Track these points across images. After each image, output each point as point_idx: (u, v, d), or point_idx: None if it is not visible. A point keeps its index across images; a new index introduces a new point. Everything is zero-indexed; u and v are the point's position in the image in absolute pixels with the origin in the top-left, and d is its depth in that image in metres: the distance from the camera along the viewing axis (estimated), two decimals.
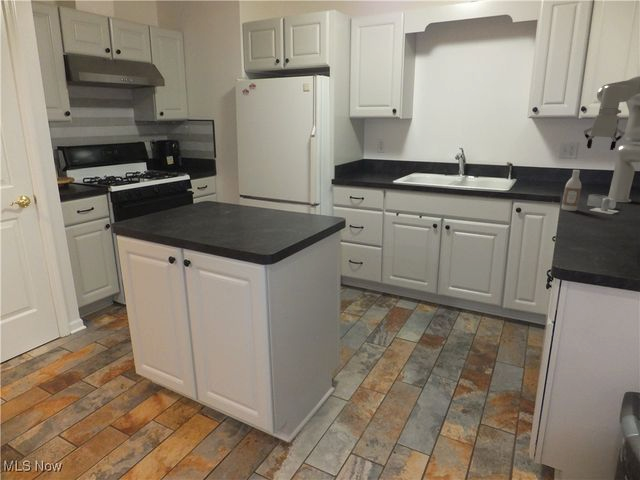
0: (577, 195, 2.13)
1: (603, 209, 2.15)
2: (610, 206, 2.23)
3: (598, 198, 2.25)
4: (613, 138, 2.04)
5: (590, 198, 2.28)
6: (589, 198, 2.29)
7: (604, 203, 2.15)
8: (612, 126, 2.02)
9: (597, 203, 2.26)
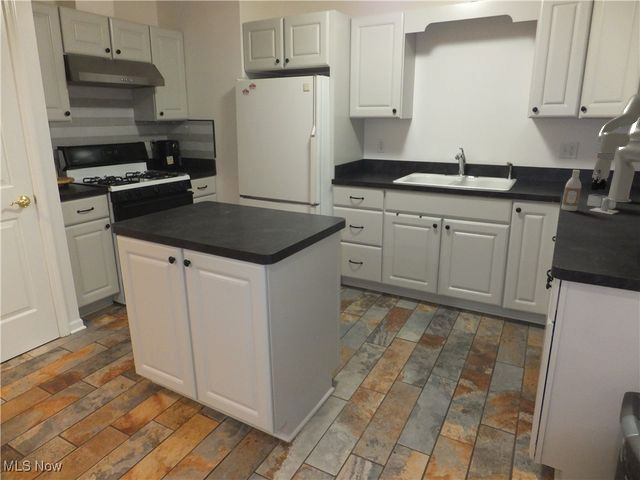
0: (577, 195, 2.13)
1: (603, 209, 2.15)
2: (610, 206, 2.23)
3: (598, 198, 2.25)
4: (606, 179, 2.28)
5: (590, 198, 2.28)
6: (589, 198, 2.29)
7: (604, 203, 2.15)
8: (609, 169, 2.25)
9: (597, 203, 2.26)
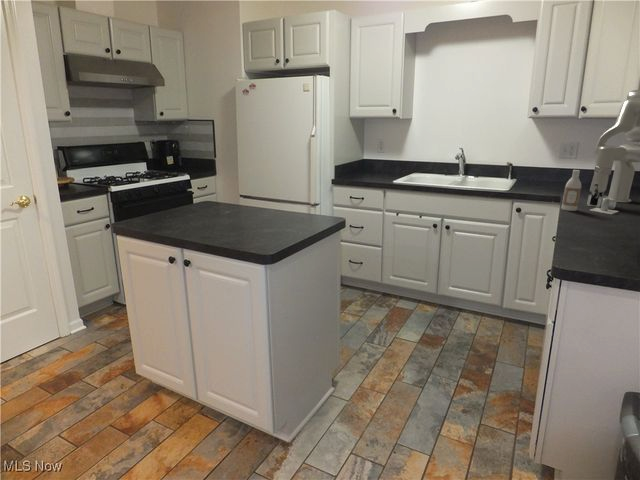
0: (577, 195, 2.13)
1: (603, 209, 2.15)
2: (610, 206, 2.23)
3: (598, 198, 2.25)
4: (602, 194, 2.29)
5: (590, 198, 2.28)
6: (589, 198, 2.29)
7: (604, 203, 2.15)
8: (607, 182, 2.27)
9: (597, 203, 2.26)
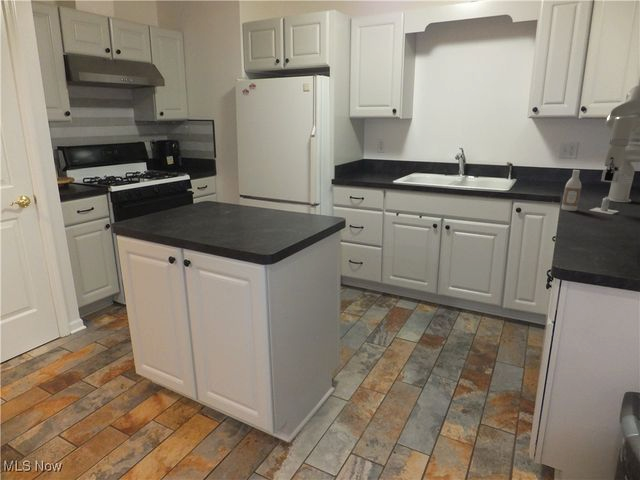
0: (577, 195, 2.13)
1: (603, 209, 2.15)
2: (627, 181, 2.06)
3: None
4: (618, 169, 2.12)
5: (605, 173, 2.11)
6: (603, 173, 2.11)
7: (604, 203, 2.15)
8: (623, 156, 2.10)
9: (612, 178, 2.09)
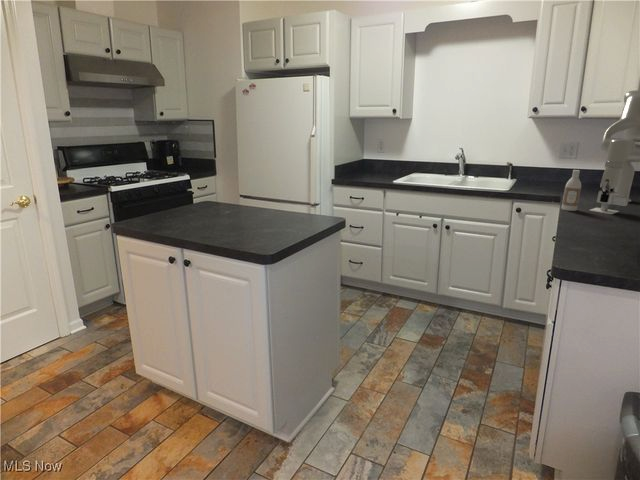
0: (577, 195, 2.13)
1: (603, 209, 2.15)
2: (622, 203, 2.08)
3: (609, 194, 2.11)
4: (613, 190, 2.15)
5: (600, 194, 2.14)
6: (599, 194, 2.14)
7: (604, 203, 2.15)
8: (618, 178, 2.12)
9: (608, 200, 2.12)
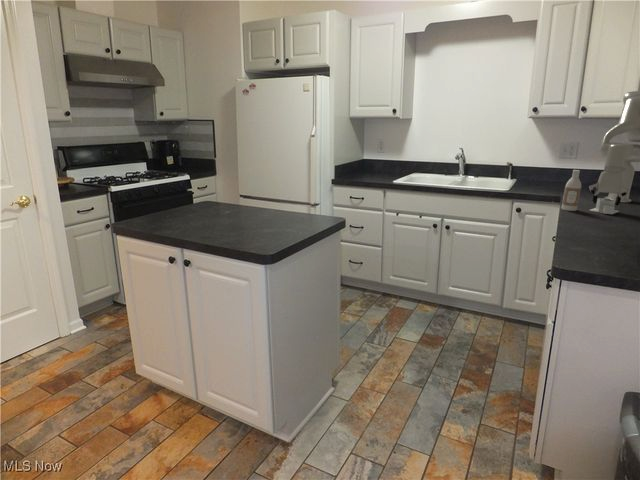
0: (577, 195, 2.13)
1: None
2: (603, 210, 2.10)
3: (599, 201, 2.15)
4: (619, 194, 2.11)
5: (597, 201, 2.18)
6: (597, 201, 2.19)
7: None
8: (619, 183, 2.09)
9: (598, 206, 2.16)
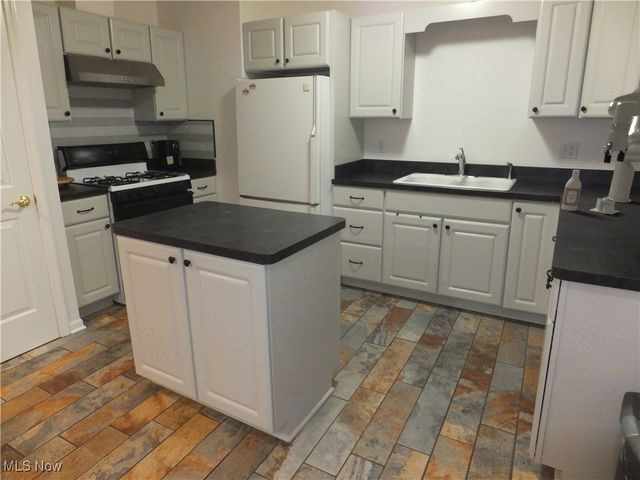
0: (577, 195, 2.13)
1: None
2: (603, 210, 2.10)
3: (599, 201, 2.15)
4: (624, 151, 2.18)
5: (597, 201, 2.18)
6: (597, 201, 2.19)
7: None
8: (627, 140, 2.15)
9: (598, 206, 2.16)
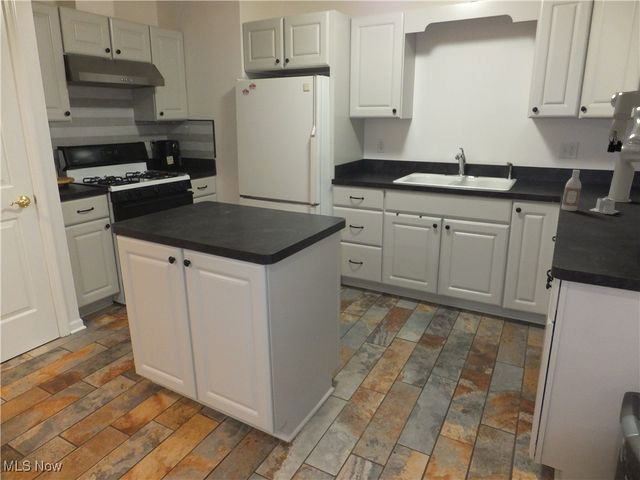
0: (577, 195, 2.13)
1: None
2: (603, 210, 2.10)
3: (599, 201, 2.15)
4: (622, 141, 2.23)
5: (597, 201, 2.18)
6: (597, 201, 2.19)
7: None
8: None
9: (598, 206, 2.16)
